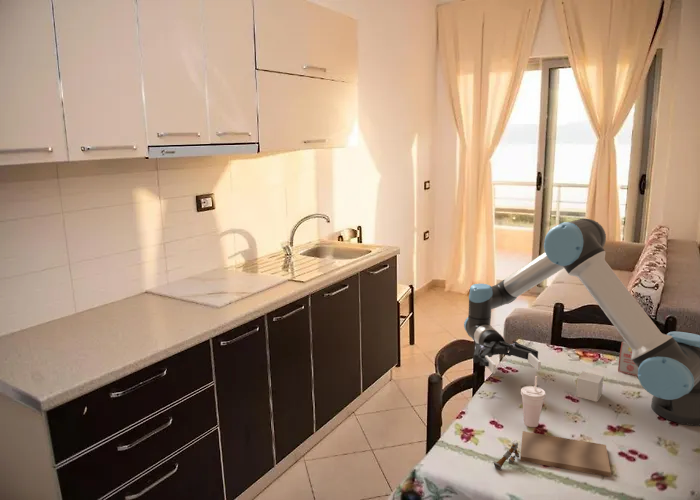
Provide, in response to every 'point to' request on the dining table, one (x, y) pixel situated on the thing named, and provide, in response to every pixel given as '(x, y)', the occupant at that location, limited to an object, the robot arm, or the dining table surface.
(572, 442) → the walnut board
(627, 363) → the small printed carton
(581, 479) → the dining table surface
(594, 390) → the off-white cube
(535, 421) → the smoothie
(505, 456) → the wooden post with brackets
